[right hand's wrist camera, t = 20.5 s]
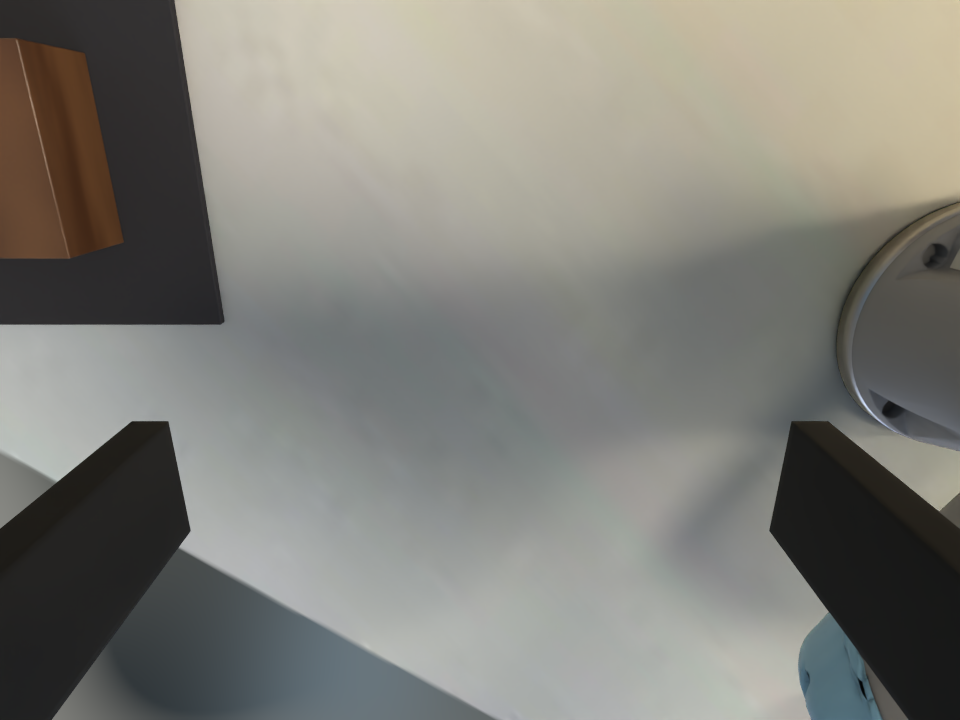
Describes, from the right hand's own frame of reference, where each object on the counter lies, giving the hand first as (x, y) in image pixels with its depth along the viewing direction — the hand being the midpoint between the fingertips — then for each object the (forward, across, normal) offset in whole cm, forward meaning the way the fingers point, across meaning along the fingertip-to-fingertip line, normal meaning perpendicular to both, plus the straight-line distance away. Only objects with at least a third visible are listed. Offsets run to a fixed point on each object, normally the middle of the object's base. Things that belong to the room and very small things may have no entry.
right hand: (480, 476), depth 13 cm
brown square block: (+24, +26, -6) cm, 36 cm away
